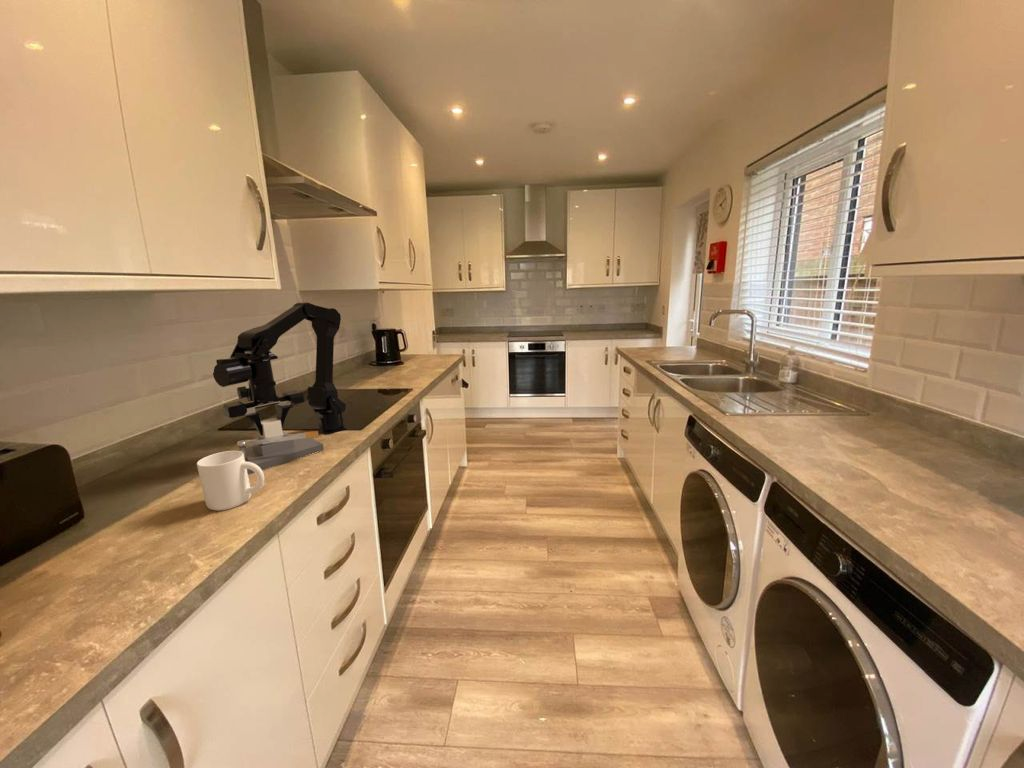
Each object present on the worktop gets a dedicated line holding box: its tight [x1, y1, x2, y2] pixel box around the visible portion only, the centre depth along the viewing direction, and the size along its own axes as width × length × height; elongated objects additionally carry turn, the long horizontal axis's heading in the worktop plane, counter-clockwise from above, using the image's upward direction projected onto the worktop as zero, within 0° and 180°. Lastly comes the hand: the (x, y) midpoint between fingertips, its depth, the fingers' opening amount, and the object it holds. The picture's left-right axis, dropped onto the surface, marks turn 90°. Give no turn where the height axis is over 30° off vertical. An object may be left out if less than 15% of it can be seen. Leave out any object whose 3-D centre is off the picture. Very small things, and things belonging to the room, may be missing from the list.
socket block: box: [237, 437, 325, 476], centre depth 113 cm, size 20×15×6 cm
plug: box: [253, 417, 290, 445], centre depth 113 cm, size 7×7×8 cm
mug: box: [196, 450, 265, 512], centre depth 88 cm, size 12×8×10 cm
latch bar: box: [236, 430, 319, 448], centre depth 108 cm, size 19×2×1 cm, turn 110°
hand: (271, 432), depth 113 cm, fingers closed on plug, 4 cm apart
